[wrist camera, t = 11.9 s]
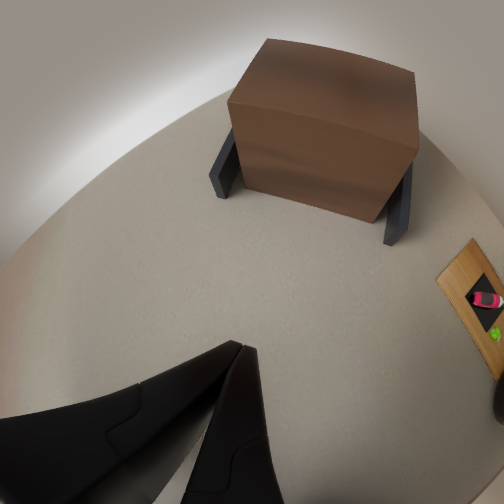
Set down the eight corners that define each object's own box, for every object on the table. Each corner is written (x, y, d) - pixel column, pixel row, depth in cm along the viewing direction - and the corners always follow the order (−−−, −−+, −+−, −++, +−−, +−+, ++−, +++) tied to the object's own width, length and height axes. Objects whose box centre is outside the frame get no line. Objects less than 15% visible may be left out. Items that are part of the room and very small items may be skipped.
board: (495, 381, 17) (505, 382, 15) (435, 279, 20) (444, 274, 19) (527, 334, 17) (536, 332, 16) (471, 238, 21) (480, 232, 20)
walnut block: (372, 224, 22) (419, 149, 13) (245, 188, 24) (226, 101, 15) (382, 151, 25) (414, 72, 15) (272, 122, 27) (267, 38, 17)
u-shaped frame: (391, 246, 22) (407, 230, 18) (217, 197, 24) (208, 174, 21) (401, 147, 25) (412, 125, 21) (257, 110, 27) (254, 85, 24)
